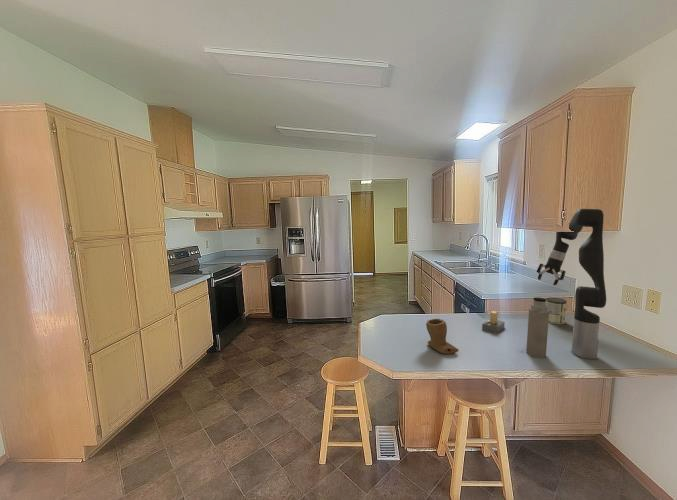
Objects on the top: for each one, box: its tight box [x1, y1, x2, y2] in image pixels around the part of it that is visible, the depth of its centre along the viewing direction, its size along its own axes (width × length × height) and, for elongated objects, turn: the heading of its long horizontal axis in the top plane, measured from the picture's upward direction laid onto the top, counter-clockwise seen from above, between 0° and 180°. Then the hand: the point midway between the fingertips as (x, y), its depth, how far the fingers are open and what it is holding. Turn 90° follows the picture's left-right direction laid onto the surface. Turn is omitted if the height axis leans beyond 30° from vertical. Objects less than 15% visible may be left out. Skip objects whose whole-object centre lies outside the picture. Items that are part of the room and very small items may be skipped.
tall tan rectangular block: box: [489, 310, 499, 324], centre depth 169 cm, size 4×2×10 cm, turn 132°
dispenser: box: [481, 318, 506, 334], centre depth 170 cm, size 12×8×6 cm, turn 132°
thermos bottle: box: [525, 297, 549, 359], centre depth 139 cm, size 8×8×28 cm
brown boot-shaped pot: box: [425, 318, 459, 355], centre depth 147 cm, size 15×12×15 cm
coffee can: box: [545, 297, 567, 325], centre depth 181 cm, size 10×10×14 cm
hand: (546, 282), depth 183 cm, fingers open, 8 cm apart
